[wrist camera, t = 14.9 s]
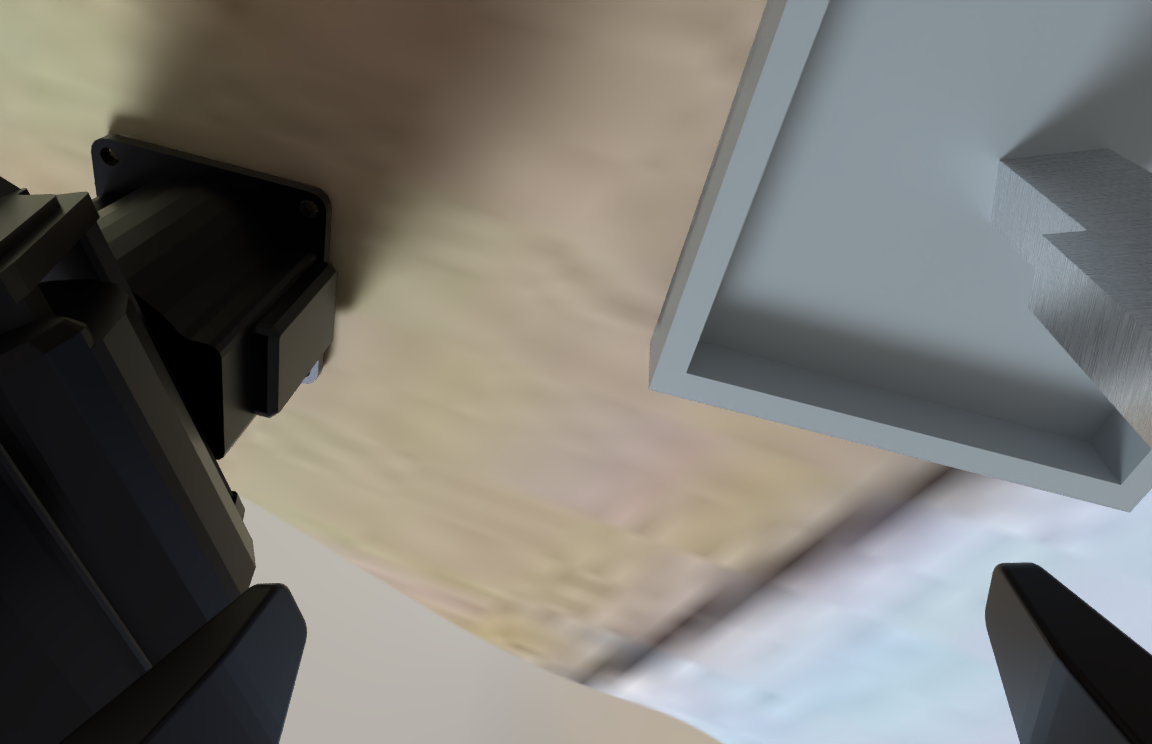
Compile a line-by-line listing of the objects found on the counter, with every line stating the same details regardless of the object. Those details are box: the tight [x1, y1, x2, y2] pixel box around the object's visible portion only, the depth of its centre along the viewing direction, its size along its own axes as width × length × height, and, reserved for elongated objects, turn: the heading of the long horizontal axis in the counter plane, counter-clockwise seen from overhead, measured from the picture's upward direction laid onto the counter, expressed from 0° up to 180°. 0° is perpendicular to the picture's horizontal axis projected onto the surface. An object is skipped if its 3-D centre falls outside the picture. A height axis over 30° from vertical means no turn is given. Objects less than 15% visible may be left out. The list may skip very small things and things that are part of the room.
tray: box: [649, 0, 1152, 512], centre depth 18 cm, size 14×14×2 cm
